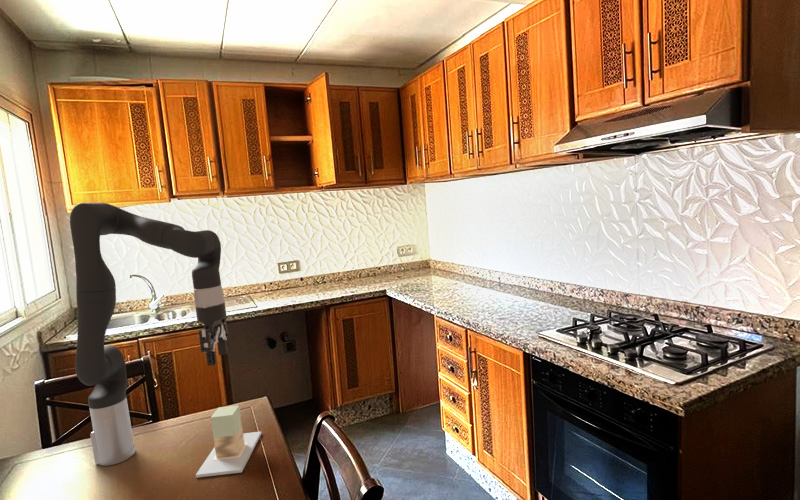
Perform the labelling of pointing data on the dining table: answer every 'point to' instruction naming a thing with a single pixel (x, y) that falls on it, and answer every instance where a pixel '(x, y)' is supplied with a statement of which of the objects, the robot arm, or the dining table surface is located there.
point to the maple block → (229, 445)
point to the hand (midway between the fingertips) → (217, 359)
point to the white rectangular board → (229, 459)
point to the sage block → (226, 421)
